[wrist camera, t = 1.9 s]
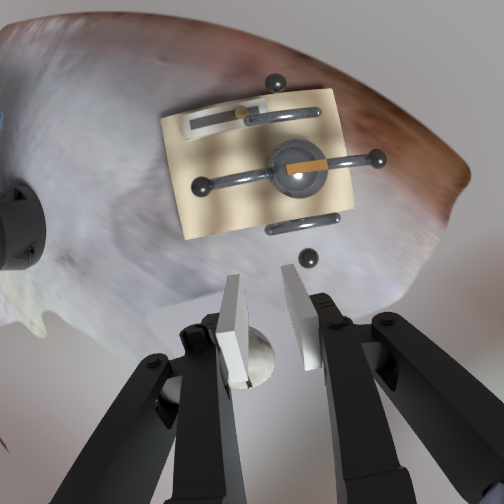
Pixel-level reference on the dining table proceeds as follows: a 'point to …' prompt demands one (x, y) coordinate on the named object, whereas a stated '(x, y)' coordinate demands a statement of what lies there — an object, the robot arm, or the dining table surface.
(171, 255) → the dining table surface
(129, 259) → the dining table surface
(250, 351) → the decorative object
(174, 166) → the stand
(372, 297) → the dining table surface
